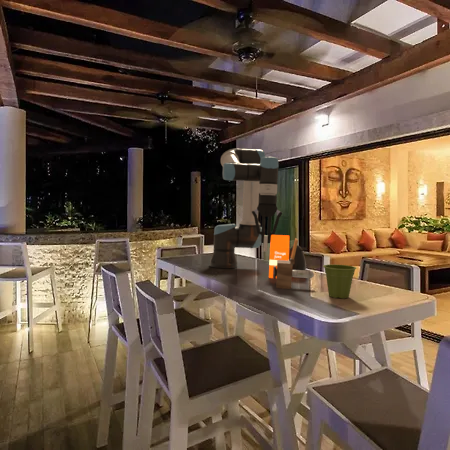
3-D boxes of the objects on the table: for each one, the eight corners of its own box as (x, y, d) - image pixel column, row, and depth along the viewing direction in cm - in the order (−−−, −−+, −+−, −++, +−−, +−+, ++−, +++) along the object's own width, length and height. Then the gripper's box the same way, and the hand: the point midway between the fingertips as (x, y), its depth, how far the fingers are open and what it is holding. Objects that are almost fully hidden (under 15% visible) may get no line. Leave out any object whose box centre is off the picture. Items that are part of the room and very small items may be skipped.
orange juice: (287, 279, 166) (289, 236, 165) (268, 277, 168) (270, 235, 167) (288, 276, 174) (289, 235, 173) (269, 275, 175) (271, 234, 175)
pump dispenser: (300, 279, 167) (301, 246, 167) (280, 276, 173) (281, 244, 173) (309, 276, 175) (310, 245, 175) (290, 273, 182) (291, 243, 181)
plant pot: (329, 291, 142) (330, 263, 142) (359, 296, 135) (361, 266, 134) (316, 296, 133) (317, 266, 133) (348, 302, 125) (349, 270, 125)
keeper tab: (294, 238, 152) (297, 238, 152) (289, 260, 153) (292, 260, 153) (295, 239, 144) (298, 240, 144) (290, 262, 145) (293, 263, 145)
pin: (273, 277, 153) (273, 265, 152) (313, 279, 150) (313, 267, 150) (272, 279, 148) (273, 267, 147) (314, 282, 145) (314, 269, 145)
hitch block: (276, 283, 155) (277, 255, 155) (292, 284, 154) (293, 256, 154) (276, 288, 145) (277, 258, 144) (293, 289, 144) (294, 259, 143)
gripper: (251, 193, 147) (249, 251, 148) (283, 195, 145) (281, 253, 146) (252, 194, 154) (250, 248, 155) (283, 195, 152) (280, 250, 154)
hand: (265, 250), depth 151 cm, fingers closed
